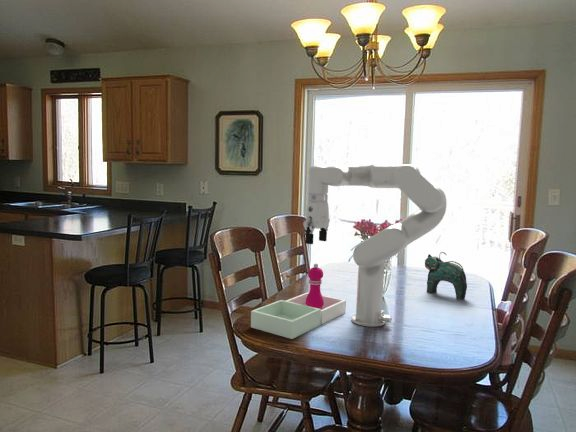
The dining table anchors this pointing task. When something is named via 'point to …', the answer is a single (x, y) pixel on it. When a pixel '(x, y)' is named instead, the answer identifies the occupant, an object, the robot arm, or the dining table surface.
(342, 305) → the crate
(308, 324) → the bin
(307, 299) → the pepper mill
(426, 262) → the ceramic cat
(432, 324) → the dining table surface
